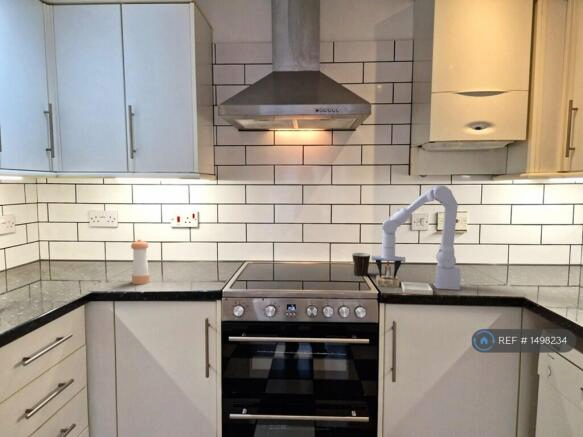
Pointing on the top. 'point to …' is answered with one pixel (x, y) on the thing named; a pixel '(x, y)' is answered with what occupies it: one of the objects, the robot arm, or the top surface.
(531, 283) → the top surface
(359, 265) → the coffee mug
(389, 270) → the pin
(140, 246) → the pepper shaker
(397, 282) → the block
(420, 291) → the tray
